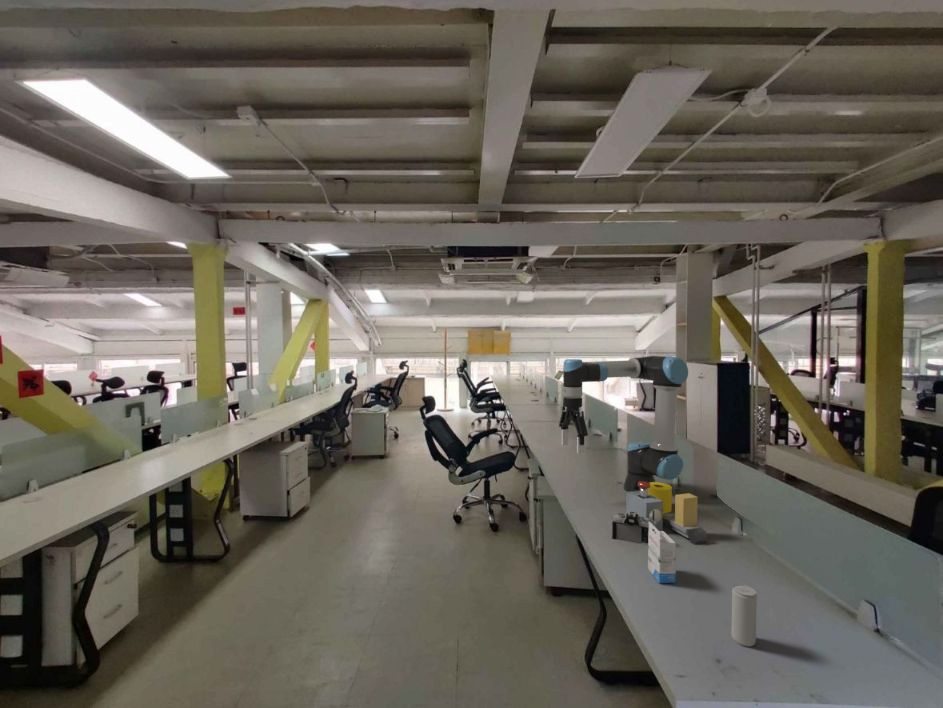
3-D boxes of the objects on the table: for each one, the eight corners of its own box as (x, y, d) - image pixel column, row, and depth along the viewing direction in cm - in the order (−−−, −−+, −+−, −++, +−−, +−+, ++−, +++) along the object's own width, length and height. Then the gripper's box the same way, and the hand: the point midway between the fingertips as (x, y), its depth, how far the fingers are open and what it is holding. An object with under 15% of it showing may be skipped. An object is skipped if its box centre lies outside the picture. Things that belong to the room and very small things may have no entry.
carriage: (685, 527, 160) (686, 491, 160) (702, 536, 153) (703, 498, 152) (669, 529, 159) (670, 493, 158) (686, 538, 151) (686, 500, 151)
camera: (658, 537, 154) (659, 509, 154) (657, 548, 146) (658, 519, 146) (613, 529, 161) (613, 503, 160) (609, 539, 152) (610, 511, 152)
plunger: (645, 500, 167) (645, 480, 167) (652, 504, 163) (652, 484, 163) (635, 501, 166) (635, 481, 166) (642, 505, 162) (642, 485, 161)
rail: (660, 516, 172) (660, 506, 172) (705, 542, 150) (705, 531, 150) (649, 518, 171) (649, 508, 171) (693, 544, 149) (694, 532, 149)
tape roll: (640, 505, 185) (640, 483, 184) (659, 502, 188) (659, 481, 188) (657, 514, 175) (657, 491, 175) (677, 511, 178) (677, 488, 178)
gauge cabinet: (641, 518, 171) (641, 490, 171) (664, 531, 159) (664, 502, 158) (625, 519, 169) (626, 492, 169) (647, 534, 157) (647, 503, 157)
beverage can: (726, 634, 103) (727, 584, 103) (745, 633, 103) (746, 583, 103) (740, 648, 98) (741, 596, 98) (760, 647, 98) (761, 595, 98)
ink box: (676, 583, 125) (677, 532, 124) (659, 583, 125) (659, 532, 124) (663, 568, 133) (663, 520, 133) (647, 568, 133) (647, 520, 133)
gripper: (551, 393, 188) (551, 442, 189) (579, 401, 164) (579, 457, 165) (567, 393, 190) (567, 441, 191) (597, 400, 166) (596, 455, 166)
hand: (572, 448), depth 178 cm, fingers open, 13 cm apart
